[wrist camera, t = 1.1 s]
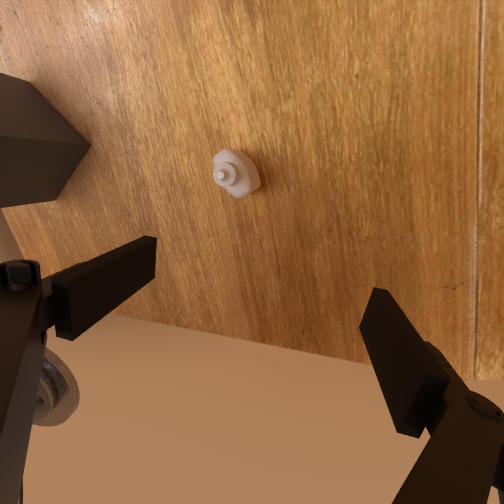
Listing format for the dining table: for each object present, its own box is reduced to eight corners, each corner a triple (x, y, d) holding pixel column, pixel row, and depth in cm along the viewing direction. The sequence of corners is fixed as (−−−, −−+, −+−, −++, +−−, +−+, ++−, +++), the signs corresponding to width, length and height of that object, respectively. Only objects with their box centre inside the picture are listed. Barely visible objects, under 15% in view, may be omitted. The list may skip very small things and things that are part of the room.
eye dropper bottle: (231, 193, 38) (201, 205, 27) (228, 151, 36) (195, 145, 25) (261, 192, 37) (244, 204, 26) (260, 149, 35) (240, 142, 24)
